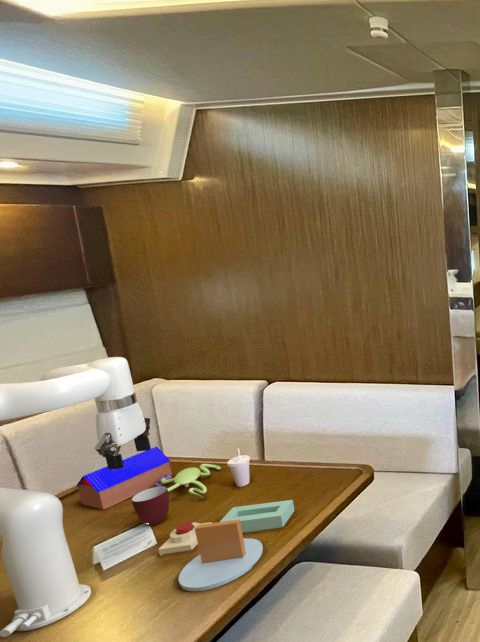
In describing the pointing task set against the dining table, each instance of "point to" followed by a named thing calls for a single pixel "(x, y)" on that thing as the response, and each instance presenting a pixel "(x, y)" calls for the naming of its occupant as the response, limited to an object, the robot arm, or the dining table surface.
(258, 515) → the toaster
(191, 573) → the plate
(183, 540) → the control block
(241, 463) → the smoothie
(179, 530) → the stop button
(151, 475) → the house
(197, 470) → the figurine
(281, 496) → the dining table surface
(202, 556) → the copper rectangular plank
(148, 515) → the mug
